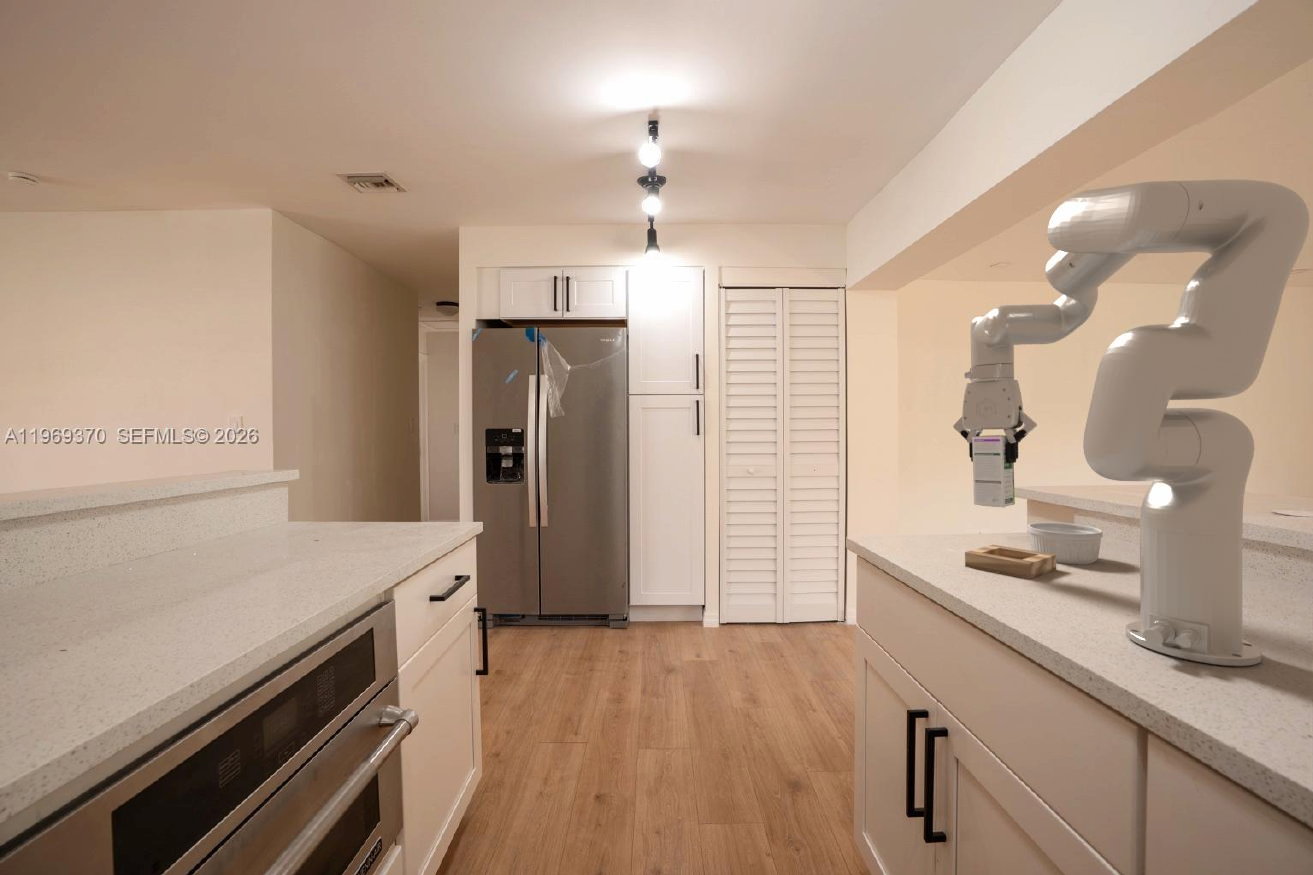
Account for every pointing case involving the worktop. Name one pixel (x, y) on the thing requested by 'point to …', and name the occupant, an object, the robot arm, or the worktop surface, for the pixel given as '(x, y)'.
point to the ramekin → (1066, 541)
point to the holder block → (1011, 561)
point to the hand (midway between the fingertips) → (993, 461)
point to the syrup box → (992, 472)
